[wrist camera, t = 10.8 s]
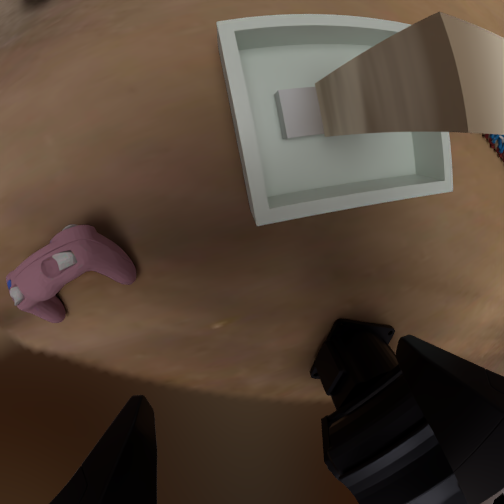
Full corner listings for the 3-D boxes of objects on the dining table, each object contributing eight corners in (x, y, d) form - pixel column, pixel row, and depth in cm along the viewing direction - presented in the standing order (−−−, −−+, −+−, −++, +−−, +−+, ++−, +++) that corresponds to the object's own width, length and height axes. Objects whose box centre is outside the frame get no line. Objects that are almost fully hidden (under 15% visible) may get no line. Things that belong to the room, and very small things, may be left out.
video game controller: (125, 223, 20) (65, 204, 13) (146, 279, 20) (86, 281, 13) (47, 275, 21) (-12, 274, 14) (62, 323, 20) (3, 334, 13)
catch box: (396, 42, 15) (425, 28, 12) (419, 182, 19) (452, 191, 16) (218, 46, 15) (216, 21, 11) (250, 210, 19) (256, 226, 15)
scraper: (382, 86, 16) (533, 54, 4) (390, 131, 17) (548, 140, 5) (273, 91, 16) (366, -6, 4) (283, 142, 17) (400, 132, 5)
